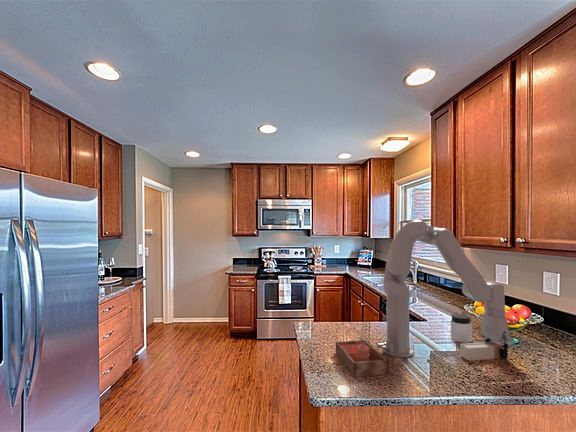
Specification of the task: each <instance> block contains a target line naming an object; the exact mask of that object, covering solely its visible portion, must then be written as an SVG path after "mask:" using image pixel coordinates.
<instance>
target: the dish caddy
mask: <svg viewBox="0 0 576 432" xmlns="http://www.w3.org/2000/svg"><path fill="white" fill-rule="evenodd" d="M361 342H364V343H365V345H367V346H368V347H369V353H370V357H369V359H370V360H371V361H364V362H355V361H354V360H353V359H352V358H351V357H350V356H349V354H348V353H347V352H346V351H345V350H344V349H343V347H342V346H341V345H345V344H361ZM335 354H336V355H337V356H338V358H339V359H340V361H341V362H342V363H343V365H344V366H345V368H346V369H348V371H349V373H350V374H351V375H352V377H354V378H356V377H371V376H381V375H382V376H383V375H389V360H388V359H387V358H386V357H384V355H382V354H381V352H379V351H378V350H377V349H376V348H375V347H373V346H372V345H371V344H370V343H369V342H368V341H367V340H366V339H359V340H356V339H355V340H342V341H341V340H340V341H335Z"/></svg>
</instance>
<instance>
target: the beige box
mask: <svg viewBox="0 0 576 432" xmlns="http://www.w3.org/2000/svg"><path fill="white" fill-rule="evenodd" d="M459 353H460V354H459V355H460V357H461V358H463V359H465V360H467V361H480V360H481V361H482V360H496V359H495V349H494V346H492V345H490V344H488V343H485V341H483V342H473V343H472V342H469V343H459Z"/></svg>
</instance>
